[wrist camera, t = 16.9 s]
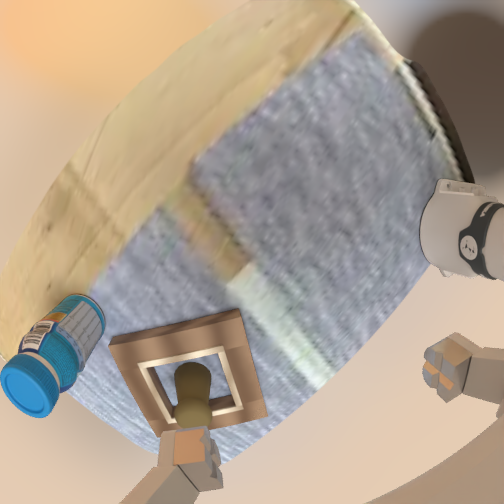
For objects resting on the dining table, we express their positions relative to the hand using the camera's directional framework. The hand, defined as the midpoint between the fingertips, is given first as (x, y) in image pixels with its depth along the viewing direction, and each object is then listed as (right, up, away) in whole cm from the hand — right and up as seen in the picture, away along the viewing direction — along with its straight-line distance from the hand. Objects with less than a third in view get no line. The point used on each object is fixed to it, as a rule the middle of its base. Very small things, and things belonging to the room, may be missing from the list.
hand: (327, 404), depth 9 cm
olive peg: (-12, -15, +35) cm, 40 cm away
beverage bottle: (-28, -5, +30) cm, 42 cm away
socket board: (-12, -15, +35) cm, 40 cm away
